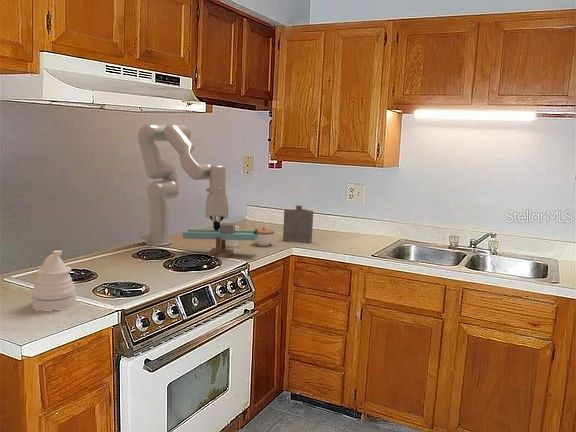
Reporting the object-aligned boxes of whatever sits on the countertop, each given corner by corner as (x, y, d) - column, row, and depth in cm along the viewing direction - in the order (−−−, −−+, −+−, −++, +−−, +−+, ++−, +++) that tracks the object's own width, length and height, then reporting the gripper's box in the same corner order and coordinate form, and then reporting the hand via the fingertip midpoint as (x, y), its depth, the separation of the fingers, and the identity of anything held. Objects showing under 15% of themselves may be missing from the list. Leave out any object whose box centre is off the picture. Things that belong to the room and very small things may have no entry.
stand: (207, 256, 238) (207, 237, 237) (213, 250, 251) (213, 232, 249) (228, 258, 237) (228, 238, 236) (233, 251, 250) (234, 233, 249)
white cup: (221, 244, 266) (222, 225, 264) (236, 243, 269) (236, 224, 267) (225, 247, 259) (225, 228, 257) (240, 246, 261) (240, 227, 260)
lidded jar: (271, 247, 262) (271, 229, 261) (250, 246, 264) (251, 228, 263) (275, 243, 273) (275, 226, 271) (255, 242, 274) (256, 224, 273)
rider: (220, 234, 239) (220, 225, 239) (222, 232, 245) (222, 223, 244) (232, 235, 239) (232, 225, 238) (235, 232, 245) (235, 223, 244)
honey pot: (84, 301, 170) (83, 248, 167) (55, 314, 158) (53, 257, 155) (53, 296, 174) (51, 244, 171) (22, 307, 162) (20, 252, 159)
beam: (182, 241, 239) (182, 230, 239) (188, 237, 249) (188, 226, 248) (255, 243, 237) (255, 232, 236) (258, 239, 246) (258, 228, 246)
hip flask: (282, 241, 280) (283, 204, 277) (283, 239, 284) (285, 203, 281) (311, 243, 278) (313, 206, 274) (312, 241, 282) (314, 205, 278)
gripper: (199, 191, 236) (199, 230, 239) (231, 193, 235) (230, 232, 238) (203, 189, 244) (203, 227, 247) (234, 191, 243) (233, 229, 245)
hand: (216, 230), depth 242 cm, fingers closed
